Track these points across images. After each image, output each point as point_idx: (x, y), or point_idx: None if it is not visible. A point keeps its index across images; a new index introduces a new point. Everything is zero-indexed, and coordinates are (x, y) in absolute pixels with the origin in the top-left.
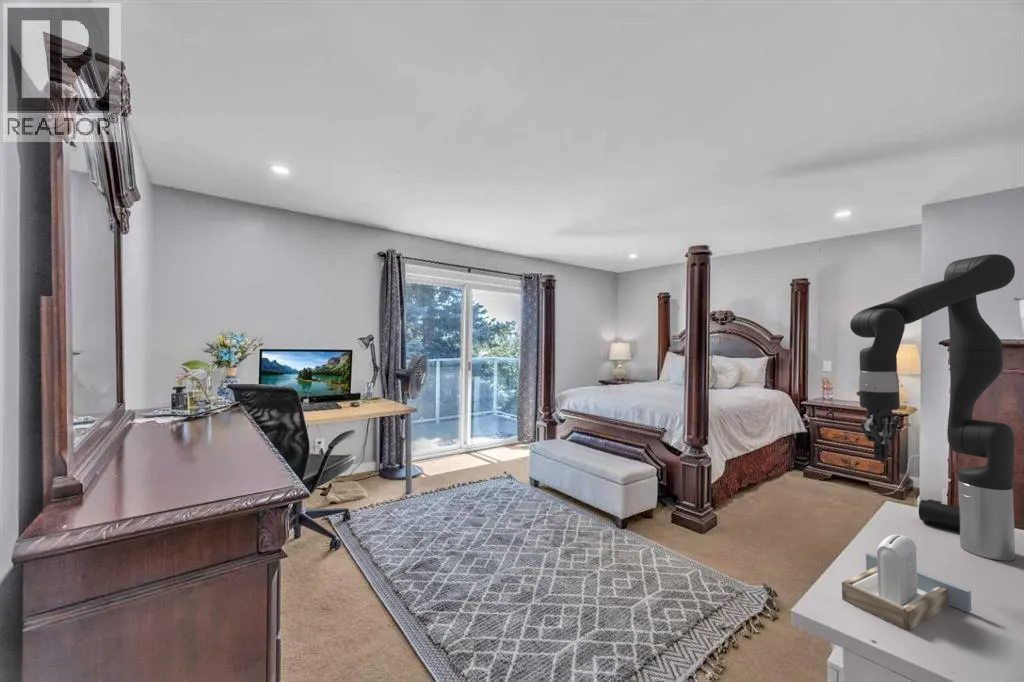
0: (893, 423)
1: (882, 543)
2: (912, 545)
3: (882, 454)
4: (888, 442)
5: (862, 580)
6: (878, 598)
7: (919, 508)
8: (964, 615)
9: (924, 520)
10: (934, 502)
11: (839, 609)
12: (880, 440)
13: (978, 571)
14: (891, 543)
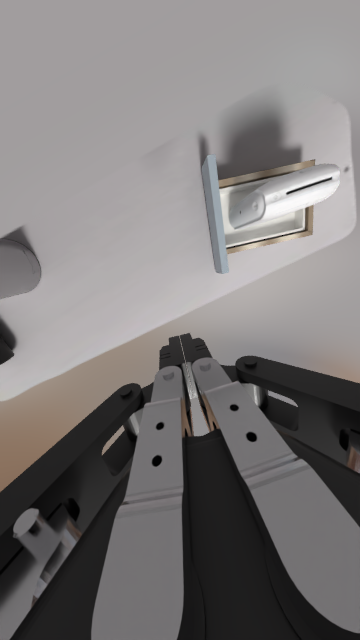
0: (40, 520)
1: (333, 188)
2: (280, 177)
3: (195, 344)
4: (171, 368)
5: (282, 233)
6: None
7: (3, 361)
8: None
9: (11, 350)
10: None
11: (319, 223)
12: (255, 362)
13: (85, 234)
14: (324, 181)
